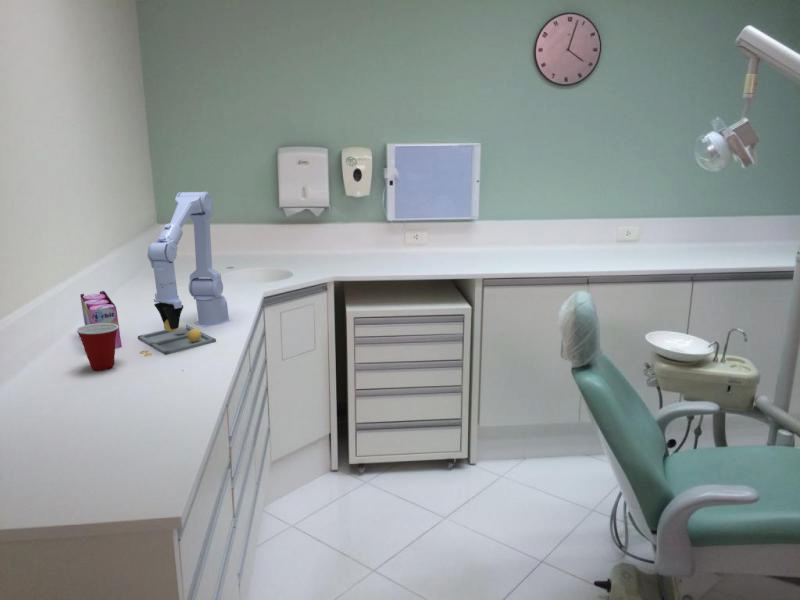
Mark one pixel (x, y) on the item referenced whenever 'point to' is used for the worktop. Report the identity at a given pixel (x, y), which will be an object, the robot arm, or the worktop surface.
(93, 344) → the plastic cup
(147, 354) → the card
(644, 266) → the worktop surface
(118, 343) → the gum box
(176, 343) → the sorting tray
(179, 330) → the ivory ball
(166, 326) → the amber ball
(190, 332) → the amber ball
